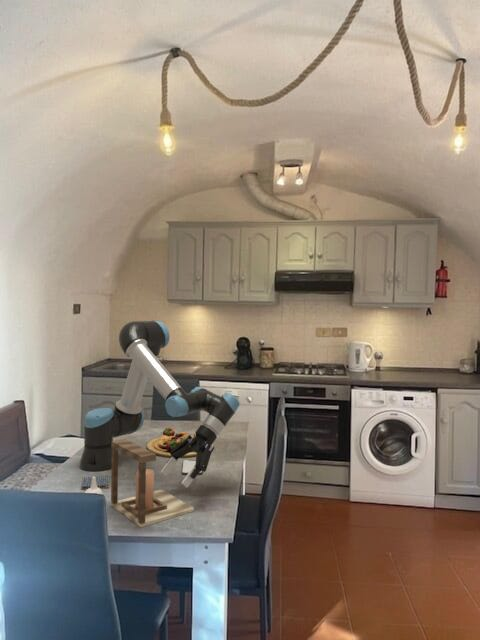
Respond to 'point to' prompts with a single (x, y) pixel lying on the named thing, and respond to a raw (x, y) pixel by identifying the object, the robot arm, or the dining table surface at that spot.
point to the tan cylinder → (149, 489)
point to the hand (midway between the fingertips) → (173, 479)
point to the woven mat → (100, 482)
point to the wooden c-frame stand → (142, 490)
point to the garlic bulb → (94, 487)
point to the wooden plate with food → (169, 443)
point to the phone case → (188, 467)
